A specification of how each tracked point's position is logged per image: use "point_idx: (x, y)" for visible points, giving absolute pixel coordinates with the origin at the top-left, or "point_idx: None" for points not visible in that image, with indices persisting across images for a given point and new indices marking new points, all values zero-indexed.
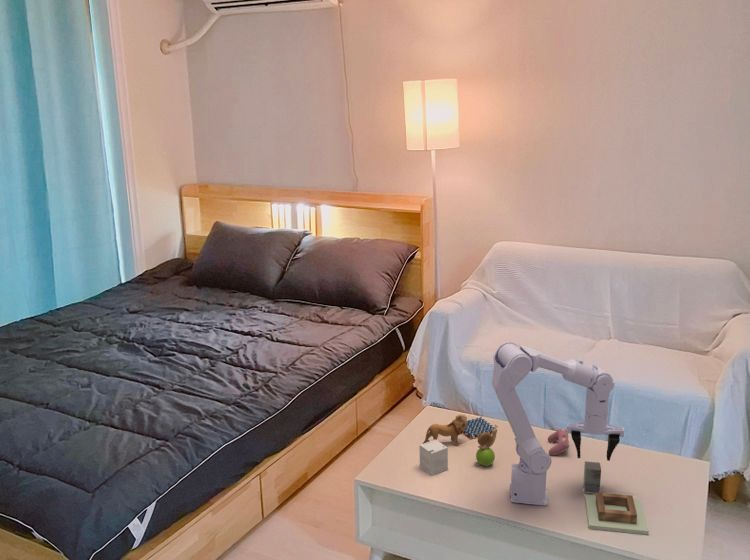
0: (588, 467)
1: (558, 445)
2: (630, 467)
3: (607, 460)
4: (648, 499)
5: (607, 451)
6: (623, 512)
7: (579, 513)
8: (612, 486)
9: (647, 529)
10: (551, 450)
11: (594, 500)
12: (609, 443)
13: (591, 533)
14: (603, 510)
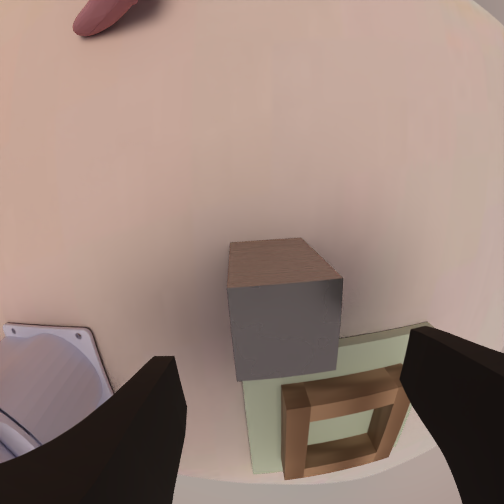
0: (255, 363)
1: (95, 3)
2: (426, 67)
3: (400, 378)
4: (454, 290)
5: (440, 375)
6: (356, 462)
7: (223, 427)
8: (360, 232)
9: (396, 442)
10: (77, 28)
11: (276, 386)
12: (475, 498)
13: (258, 474)
14: (298, 474)
